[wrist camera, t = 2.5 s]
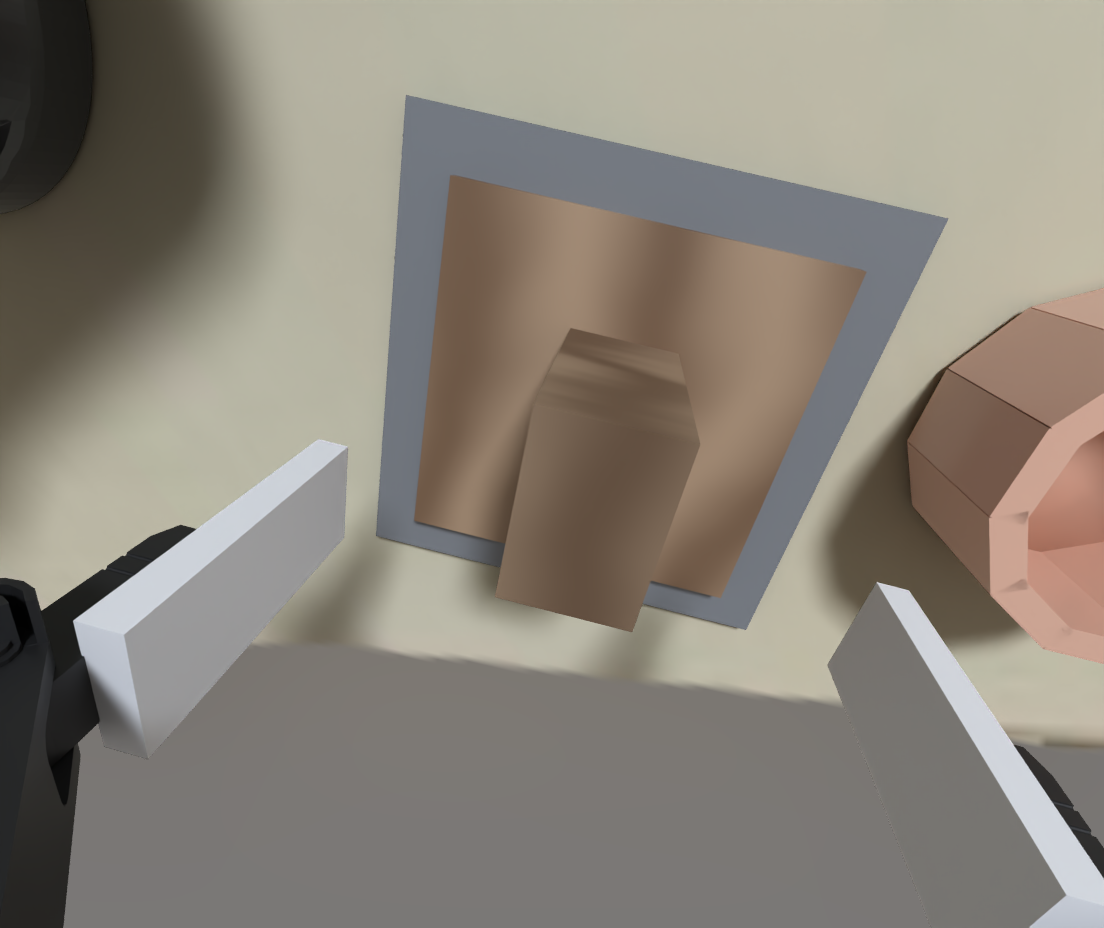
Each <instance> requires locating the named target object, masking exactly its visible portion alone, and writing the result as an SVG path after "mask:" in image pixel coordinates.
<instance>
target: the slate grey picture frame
mask: <svg viewBox="0 0 1104 928" xmlns="http://www.w3.org/2000/svg"><path fill="white" fill-rule="evenodd" d="M450 175H456V176H461V177H466V178H470V179H474V180H479V181H483V182H487V183H491V184H496V185H500V186H504V187H509V188H513V189H517V190H522V191H526V192H530V193H535V194H539V195H543V196H547V197H552V198H556V199H560V200H565V201H569V202H573V203H578V204H582V205H586V206H591V207H595V208H599V209H603V210H608V211H612V212H616V213H621V214H625V215H629V216H634V217H638V218H642V219H647V220H651V221H655V222H660V223H664V224H668V225H672V226H677V227H681V228H685V229H690V230H694V231H698V232H703V233H707V234H711V235H716V236H720V237H724V238H728V239H733V240H737V241H741V242H746V243H750V244H754V245H759V246H763V247H767V248H772V249H776V250H780V251H785V252H789V253H793V254H797V255H802V256H806V257H810V258H815V259H819V260H823V261H828V262H832V263H836V264H841V265H845V266H849V267H853V268H858V269H861V270H863V271H866V272H867V273H866V275H865V277H864V279H863V282H862V284H861V286H860V288H859V291H858V293H857V295H856V297H855V299H854V302H853V304H852V306H851V308H850V311H849V313H848V315H847V317H846V320H845V322H844V324H843V326H842V328H841V331H840V333H839V335H838V337H837V340H836V342H835V344H834V346H833V349H832V351H831V353H830V355H829V358H828V360H827V362H826V364H825V366H824V369H823V371H822V373H821V375H820V378H819V380H818V382H817V384H816V387H815V389H814V391H813V393H812V395H811V398H810V400H809V402H808V404H807V407H806V409H805V411H804V413H803V416H802V418H801V420H800V422H799V425H798V427H797V429H796V431H795V433H794V436H793V438H792V440H791V442H790V445H789V447H788V449H787V451H786V454H785V456H784V458H783V460H782V462H781V465H780V467H779V469H778V471H777V474H776V476H775V478H774V480H773V483H772V485H771V487H770V489H769V491H768V494H767V496H766V498H765V500H764V503H763V505H762V507H761V509H760V512H759V514H758V516H757V518H756V521H755V523H754V525H753V527H752V529H751V532H750V534H749V536H748V538H747V541H746V543H745V545H744V547H743V550H742V552H741V554H740V556H739V558H738V561H737V563H736V565H735V567H734V570H733V572H732V574H731V576H730V579H729V581H728V583H727V585H726V588H725V590H724V592H723V594H722V596H721V598H718V597H714V596H710V595H706V594H702V593H698V592H694V591H690V590H686V589H683V588H679V587H675V586H671V585H667V584H663V583H659V582H655V581H651V582H650V584H649V587H648V590H647V593H646V595H645V598H644V601H643V604H646V605H650V606H654V607H658V608H662V609H666V610H670V611H673V612H677V613H681V614H685V615H689V616H693V617H697V618H701V619H705V620H709V621H713V622H717V623H721V624H725V625H728V626H732V627H736V628H740V629H744V630H746V629H747V627H748V625H749V623H750V621H751V619H752V617H753V615H754V613H755V611H756V609H757V606H758V604H759V602H760V600H761V598H762V596H763V594H764V592H765V590H766V588H767V586H768V584H769V582H770V580H771V578H772V576H773V574H774V572H775V570H776V568H777V566H778V564H779V562H780V560H781V558H782V556H783V554H784V552H785V550H786V548H787V546H788V544H789V541H790V539H791V537H792V535H793V533H794V531H795V529H796V527H797V525H798V523H799V521H800V519H801V517H802V515H803V513H804V511H805V509H806V507H807V505H808V503H809V501H810V499H811V497H812V495H813V493H814V491H815V489H816V487H817V485H818V483H819V481H820V479H821V476H822V474H823V472H824V470H825V468H826V466H827V464H828V462H829V460H830V458H831V456H832V454H833V452H834V450H835V448H836V446H837V444H838V442H839V440H840V438H841V436H842V434H843V432H844V430H845V428H846V426H847V424H848V422H849V420H850V418H851V416H852V414H853V411H854V409H855V407H856V405H857V403H858V401H859V399H860V397H861V395H862V393H863V391H864V389H865V387H866V385H867V383H868V381H869V379H870V377H871V375H872V373H873V371H874V369H875V367H876V365H877V363H878V361H879V359H880V357H881V355H882V353H883V351H884V349H885V346H886V344H887V342H888V340H889V338H890V336H891V334H892V332H893V330H894V328H895V326H896V324H897V322H898V320H899V318H900V316H901V314H902V312H903V310H904V308H905V306H906V304H907V302H908V300H909V298H910V296H911V294H912V292H913V290H914V288H915V286H916V284H917V281H918V279H919V277H920V275H921V273H922V271H923V269H924V267H925V265H926V263H927V261H928V259H929V257H930V255H931V253H932V251H933V249H934V247H935V245H936V243H937V241H938V239H939V237H940V235H941V233H942V231H943V229H944V227H945V225H946V223H947V221H948V218H943V217H939V216H935V215H930V214H926V213H922V212H917V211H913V210H908V209H904V208H900V207H895V206H891V205H886V204H882V203H878V202H873V201H869V200H864V199H860V198H856V197H851V196H847V195H843V194H838V193H834V192H829V191H825V190H821V189H816V188H812V187H807V186H803V185H799V184H794V183H790V182H786V181H781V180H777V179H772V178H768V177H764V176H759V175H755V174H750V173H746V172H742V171H737V170H733V169H729V168H724V167H720V166H715V165H711V164H707V163H702V162H698V161H693V160H689V159H685V158H680V157H676V156H671V155H667V154H663V153H658V152H654V151H650V150H645V149H641V148H636V147H632V146H628V145H623V144H619V143H614V142H610V141H606V140H601V139H597V138H593V137H588V136H584V135H579V134H575V133H571V132H566V131H562V130H557V129H553V128H549V127H544V126H540V125H535V124H531V123H527V122H522V121H518V120H514V119H509V118H505V117H500V116H496V115H492V114H487V113H483V112H478V111H474V110H470V109H465V108H461V107H457V106H452V105H448V104H443V103H439V102H435V101H430V100H426V99H421V98H417V97H413V96H408V95H406V102H405V117H404V131H403V146H402V161H401V176H400V190H399V205H398V220H397V235H396V249H395V264H394V279H393V294H392V308H391V323H390V338H389V353H388V367H387V382H386V397H385V412H384V427H383V441H382V456H381V471H380V486H379V500H378V515H377V530H376V536H379V537H383V538H387V539H391V540H394V541H398V542H402V543H406V544H410V545H414V546H418V547H422V548H426V549H430V550H434V551H438V552H442V553H446V554H450V555H453V556H457V557H461V558H465V559H469V560H473V561H477V562H481V563H485V564H489V565H493V566H497V567H501V564H502V559H503V554H504V549H505V543H501V542H497V541H493V540H489V539H485V538H481V537H477V536H473V535H469V534H465V533H461V532H457V531H453V530H449V529H445V528H441V527H437V526H434V525H430V524H426V523H422V522H418V521H414V516H415V506H416V497H417V487H418V478H419V468H420V459H421V449H422V439H423V430H424V420H425V411H426V401H427V392H428V382H429V373H430V363H431V354H432V344H433V335H434V325H435V315H436V306H437V296H438V287H439V277H440V268H441V258H442V249H443V239H444V230H445V220H446V210H447V201H448V191H449V182H450Z"/></svg>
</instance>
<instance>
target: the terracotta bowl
mask: <svg viewBox="0 0 1104 928" xmlns="http://www.w3.org/2000/svg"><path fill="white" fill-rule="evenodd" d="M907 447H908V460H909V473H910V485H911V498H912V506H913V507H914V508H915V509H916V511H917V512H918V513H919V514H920V515H921V516H922V517H923V519H924V520H925V521H926V522H927V523H928V524H929V525H930V527H931V528H932V529H933V530H934V531H935V532H936V533H937V535H938V536H939V537H940V538H941V539H942V540H943V541H944V543H945V544H946V545H947V546H948V547H949V548H950V550H951V551H952V552H953V553H954V554H955V555H956V556H957V558H958V559H959V560H960V561H961V562H962V563H963V564H964V566H965V567H966V568H967V569H968V570H969V571H970V572H971V574H972V575H973V576H974V577H975V578H976V579H977V580H978V582H979V583H980V584H981V585H982V586H983V587H984V588H985V590H986V591H987V592H988V593H989V594H990V595H991V596H992V597H993V598H994V599H995V600H996V601H997V603H998V604H999V605H1000V606H1001V607H1002V608H1003V609H1004V610H1005V611H1006V612H1007V613H1008V614H1009V615H1010V616H1011V617H1012V618H1013V619H1014V620H1015V621H1016V622H1017V623H1018V624H1019V625H1020V626H1021V627H1022V628H1023V629H1024V630H1025V631H1026V632H1027V633H1028V634H1029V635H1030V636H1031V637H1032V638H1033V639H1034V640H1035V641H1036V642H1037V643H1038V644H1039V645H1040V646H1041V647H1042V648H1043V649H1046V650H1050V651H1054V652H1058V653H1062V654H1066V655H1070V656H1074V657H1078V658H1082V659H1086V660H1090V661H1094V662H1098V663H1102V664H1104V288H1102V289H1099V290H1095V291H1091V292H1087V293H1083V294H1079V295H1075V296H1071V297H1068V298H1064V299H1060V300H1056V301H1052V302H1048V303H1044V304H1040V305H1037V306H1033V307H1031V308H1028V309H1027V310H1025V311H1024V312H1023V313H1021V314H1020V315H1019V316H1017V317H1016V318H1015V319H1013V320H1012V321H1011V322H1009V323H1008V324H1007V325H1005V326H1004V327H1002V328H1001V329H1000V330H998V331H997V332H996V333H994V334H993V335H992V336H990V337H989V338H988V339H986V340H985V341H984V342H982V343H981V344H979V345H978V346H977V347H975V348H974V349H973V350H971V351H970V352H969V353H967V354H966V355H965V356H963V357H962V358H961V359H959V360H958V361H957V362H955V363H954V364H952V365H951V366H950V367H948V369H947V370H946V371H945V373H944V375H943V377H942V379H941V380H940V382H939V384H938V386H937V388H936V389H935V391H934V393H933V395H932V397H931V399H930V400H929V402H928V404H927V406H926V408H925V409H924V411H923V413H922V415H921V417H920V418H919V420H918V422H917V424H916V426H915V427H914V429H913V431H912V433H911V435H910V436H909V438H908V440H907Z"/></svg>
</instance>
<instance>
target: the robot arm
mask: <svg viewBox="0 0 1104 928" xmlns="http://www.w3.org/2000/svg"><path fill="white" fill-rule="evenodd" d="M91 90H92V52H91V40H90V31H89V23H88V17H87V12H86V6H85V1H84V0H0V213H6V212H10V211H14V210H17V209H20V208H22V207H25V206H27V205H29V204H31V203H33V202H35V201H36V200H38V199H40V198H41V197H42V196H44V195H45V194H46V193H48V192H49V191H50V190H51V189H52V188H53V187H54V186H55V185H56V184H57V183H58V182H59V180H60V179H61V178H62V177H63V176H64V174H65V173H66V171H67V170H68V168H69V167H70V165H71V163H72V161H73V159H74V157H75V156H76V154H77V151H78V149H79V146H80V144H81V141H82V138H83V135H84V131H85V128H86V124H87V119H88V115H89V108H90V101H91ZM347 458H348V447H347V446H343V445H340V444H336V443H332V442H328V441H324V440H320V439H318V440H317V441H315V442H314V443H313V444H311V445H310V446H308V447H307V448H306V449H304V450H303V451H302V452H300V453H299V454H298V455H296V456H295V457H294V458H292V459H291V460H290V461H288V462H287V463H285V464H284V465H283V466H281V467H280V468H279V469H277V470H276V471H275V472H273V473H272V474H271V475H269V476H268V477H267V478H265V479H264V480H263V481H261V482H260V483H258V484H257V485H256V486H254V487H253V488H252V489H250V490H249V491H248V492H246V493H245V494H244V495H242V496H241V497H240V498H238V499H237V500H235V501H234V502H233V503H231V504H230V505H229V506H227V507H226V508H225V509H223V510H222V511H221V512H219V513H218V514H217V515H215V516H214V517H213V518H211V519H210V520H208V521H207V522H206V523H204V524H203V525H202V526H200V527H199V528H198V529H194V528H191V527H187V526H183V525H179V526H176V527H174V528H171V529H168V530H166V531H163V532H160V533H158V534H155V535H152V536H150V537H149V538H147V539H146V540H144V541H143V542H141V543H140V544H138V545H137V546H136V547H134V548H133V549H131V550H130V551H128V552H127V554H126V556H121V557H120V558H118V559H117V560H115V561H114V562H112V563H111V564H109V565H108V566H107V569H106V570H103V569H102V570H101V571H99V572H98V573H96V574H95V575H93V576H92V577H90V578H89V579H87V580H86V581H84V582H83V583H82V584H80V585H79V586H77V587H76V588H74V589H73V590H71V591H70V592H68V593H67V594H65V595H64V596H63V597H61V598H60V599H58V600H57V601H55V602H54V603H52V604H51V605H49V606H48V607H47V608H45V609H44V610H42V611H41V609H40V606H39V602H38V598H37V595H36V591H35V588H33V587H32V586H30V585H29V584H27V583H26V582H24V581H19V580H14V579H8V578H0V928H63V925H64V914H65V904H66V895H67V894H66V893H67V884H68V875H69V865H70V855H71V845H72V835H73V825H74V815H75V804H76V795H77V785H78V774H79V765H80V751H79V746H78V742H79V741H80V740H81V739H82V738H83V737H84V736H85V735H86V734H87V733H88V732H89V731H90V730H92V729H93V728H94V727H95V726H96V724H99V728H100V732H101V736H102V740H103V744H104V747H107V748H110V749H114V750H117V751H121V752H124V753H128V754H131V755H135V756H138V757H142V758H146V759H149V758H150V757H151V755H152V754H153V753H154V752H155V751H156V750H157V749H158V748H159V746H160V745H161V744H162V743H163V742H164V741H165V740H166V738H167V737H168V736H169V735H170V734H171V733H172V732H173V731H174V729H175V728H176V727H177V726H178V725H179V724H180V723H181V722H182V720H183V719H184V718H185V717H186V716H187V715H188V714H189V713H190V711H191V710H192V709H193V708H194V707H195V706H196V705H197V703H198V702H199V701H200V700H201V699H202V698H203V697H204V696H205V694H206V693H207V692H208V691H209V690H210V689H211V688H212V686H213V685H214V684H215V683H216V682H217V681H218V680H219V678H220V677H221V676H222V675H223V674H224V673H225V672H226V671H227V669H228V668H229V667H230V666H231V665H232V664H233V663H234V661H235V660H236V659H237V658H238V657H239V656H240V655H241V654H242V652H243V651H244V650H245V649H246V648H247V647H248V646H249V645H250V643H251V642H252V641H253V640H254V639H255V638H256V637H257V636H258V634H259V633H260V632H261V631H262V630H263V629H264V628H265V627H266V625H267V624H268V623H269V622H270V621H271V620H272V619H273V617H274V616H275V615H276V614H277V613H278V612H279V611H280V610H281V608H282V607H283V606H284V605H285V604H286V603H287V602H288V600H289V599H290V598H291V597H292V596H293V595H294V594H295V593H296V591H297V590H298V589H299V588H300V587H301V586H302V585H303V583H304V582H305V581H306V580H307V579H308V578H309V577H310V576H311V574H312V573H313V572H314V571H315V570H316V569H317V568H318V567H319V565H320V564H321V563H322V562H323V561H324V560H325V559H326V557H327V556H328V555H329V554H330V553H331V552H332V551H333V550H334V548H335V547H336V546H337V545H338V544H339V543H340V542H341V540H342V539H343V538H344V530H345V506H346V482H347ZM828 668H829V670H830V673H831V675H832V678H833V680H834V683H835V685H836V688H837V690H838V693H839V696H840V698H841V701H842V703H843V706H844V708H845V711H846V713H847V715H848V718H849V721H850V724H851V726H852V728H853V731H854V734H855V736H856V739H857V741H858V744H859V746H860V749H861V751H862V754H863V756H864V759H865V762H866V764H867V767H868V769H869V772H870V774H871V777H872V779H873V782H874V784H875V787H876V789H877V792H878V795H879V797H880V800H881V802H882V805H883V807H884V810H885V812H886V815H887V817H888V820H889V823H890V825H891V828H892V830H893V832H894V835H895V838H896V840H897V843H898V845H899V848H900V850H901V853H902V856H903V858H904V861H905V863H906V866H907V868H908V871H909V873H910V876H911V878H912V881H913V884H914V886H915V889H916V891H917V894H918V896H919V899H920V901H921V904H922V906H923V909H924V912H925V914H926V916H927V919H928V921H929V924H930V927H931V928H1104V848H1103V846H1102V845H1101V844H1100V842H1099V841H1098V839H1097V838H1096V837H1094V836H1092V835H1091V829H1090V828H1089V827H1088V825H1087V824H1086V823H1085V821H1084V820H1083V818H1082V817H1081V815H1080V814H1079V812H1078V811H1074V810H1073V806H1074V805H1073V804H1072V803H1071V801H1070V800H1069V798H1068V797H1067V796H1066V794H1065V793H1064V791H1063V790H1062V788H1061V787H1060V786H1059V784H1058V783H1057V781H1056V780H1055V779H1054V777H1053V776H1052V775H1051V774H1050V773H1049V772H1048V771H1047V770H1046V769H1045V768H1044V767H1043V766H1042V765H1041V764H1040V763H1039V762H1038V761H1037V760H1036V759H1035V758H1034V757H1033V756H1032V755H1030V753H1029V752H1028V751H1026V749H1025V748H1023V747H1020V746H1017V745H1013V744H1012V742H1011V741H1010V739H1009V738H1008V736H1007V735H1006V733H1005V732H1004V730H1003V729H1002V727H1001V726H1000V724H999V723H998V721H997V720H996V719H995V717H994V716H993V714H992V713H991V711H990V710H989V708H988V707H987V705H986V704H985V702H984V701H983V699H982V698H981V696H980V695H979V693H978V692H977V690H976V689H975V687H974V686H973V684H972V683H971V682H970V680H969V679H968V677H967V676H966V674H965V673H964V671H963V670H962V668H961V667H960V665H959V664H958V662H957V661H956V659H955V658H954V656H953V655H952V653H951V652H950V650H949V649H948V648H947V646H946V645H945V643H944V642H943V640H942V639H941V637H940V636H939V634H938V633H937V631H936V630H935V628H934V627H933V625H932V624H931V622H930V621H929V619H928V618H927V616H926V615H925V614H924V612H923V611H922V609H921V608H920V606H919V605H918V603H917V602H916V600H915V599H914V597H913V596H912V594H911V593H910V591H909V590H905V589H902V588H898V587H894V586H890V585H886V584H882V583H878V582H876V584H875V586H874V587H873V589H872V591H871V592H870V594H869V596H868V597H867V599H866V601H865V602H864V604H863V606H862V608H861V609H860V611H859V613H858V614H857V616H856V618H855V619H854V621H853V623H852V624H851V626H850V628H849V629H848V631H847V633H846V634H845V636H844V638H843V639H842V641H841V643H840V644H839V646H838V648H837V650H836V651H835V653H834V655H833V656H832V658H831V660H830V661H829V663H828Z"/></svg>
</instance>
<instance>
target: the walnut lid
mask: <svg viewBox="0 0 1104 928" xmlns="http://www.w3.org/2000/svg"><path fill="white" fill-rule="evenodd" d="M866 273H867V272H866V271H863V270H861V269H858V268H853V267H849V266H845V265H841V264H836V263H832V262H828V261H823V260H819V259H815V258H810V257H806V256H802V255H797V254H793V253H789V252H785V251H780V250H776V249H772V248H767V247H763V246H759V245H754V244H750V243H746V242H741V241H737V240H733V239H728V238H724V237H720V236H716V235H711V234H707V233H703V232H698V231H694V230H690V229H685V228H681V227H677V226H672V225H668V224H664V223H660V222H655V221H651V220H647V219H642V218H638V217H634V216H629V215H625V214H621V213H616V212H612V211H608V210H603V209H599V208H595V207H591V206H586V205H582V204H578V203H573V202H569V201H565V200H560V199H556V198H552V197H547V196H543V195H539V194H535V193H530V192H526V191H522V190H517V189H513V188H509V187H504V186H500V185H496V184H491V183H487V182H483V181H479V180H474V179H470V178H466V177H461V176H456V175H450V182H449V191H448V201H447V210H446V220H445V230H444V239H443V249H442V258H441V268H440V277H439V287H438V296H437V306H436V315H435V325H434V335H433V344H432V354H431V363H430V373H429V382H428V392H427V401H426V411H425V420H424V430H423V439H422V449H421V459H420V468H419V478H418V487H417V497H416V506H415V516H414V521H418V522H422V523H426V524H430V525H434V526H437V527H441V528H445V529H449V530H453V531H457V532H461V533H465V534H469V535H473V536H477V537H481V538H485V539H489V540H493V541H497V542H501V543H505V549H504V554H503V559H502V564H501V569H500V574H499V579H498V584H497V589H496V594H495V597H497V598H501V599H505V600H508V601H512V602H516V603H520V604H524V605H528V606H532V607H536V608H540V609H544V610H547V611H551V612H555V613H559V614H563V615H567V616H571V617H575V618H579V619H583V620H586V621H590V622H594V623H598V624H602V625H606V626H610V627H614V628H618V629H622V630H625V631H629V632H632V631H633V628H634V626H635V623H636V620H637V617H638V615H639V612H640V609H641V606H642V604H643V601H644V598H645V595H646V593H647V590H648V587H649V584H650V582H651V581H655V582H659V583H663V584H667V585H671V586H675V587H679V588H683V589H686V590H690V591H694V592H698V593H702V594H706V595H710V596H714V597H718V598H721V596H722V594H723V592H724V590H725V588H726V585H727V583H728V581H729V579H730V576H731V574H732V572H733V570H734V567H735V565H736V563H737V561H738V558H739V556H740V554H741V552H742V550H743V547H744V545H745V543H746V541H747V538H748V536H749V534H750V532H751V529H752V527H753V525H754V523H755V521H756V518H757V516H758V514H759V512H760V509H761V507H762V505H763V503H764V500H765V498H766V496H767V494H768V491H769V489H770V487H771V485H772V483H773V480H774V478H775V476H776V474H777V471H778V469H779V467H780V465H781V462H782V460H783V458H784V456H785V454H786V451H787V449H788V447H789V445H790V442H791V440H792V438H793V436H794V433H795V431H796V429H797V427H798V425H799V422H800V420H801V418H802V416H803V413H804V411H805V409H806V407H807V404H808V402H809V400H810V398H811V395H812V393H813V391H814V389H815V387H816V384H817V382H818V380H819V378H820V375H821V373H822V371H823V369H824V366H825V364H826V362H827V360H828V358H829V355H830V353H831V351H832V349H833V346H834V344H835V342H836V340H837V337H838V335H839V333H840V331H841V328H842V326H843V324H844V322H845V320H846V317H847V315H848V313H849V311H850V308H851V306H852V304H853V302H854V299H855V297H856V295H857V293H858V291H859V288H860V286H861V284H862V282H863V279H864V277H865V275H866Z"/></svg>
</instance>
